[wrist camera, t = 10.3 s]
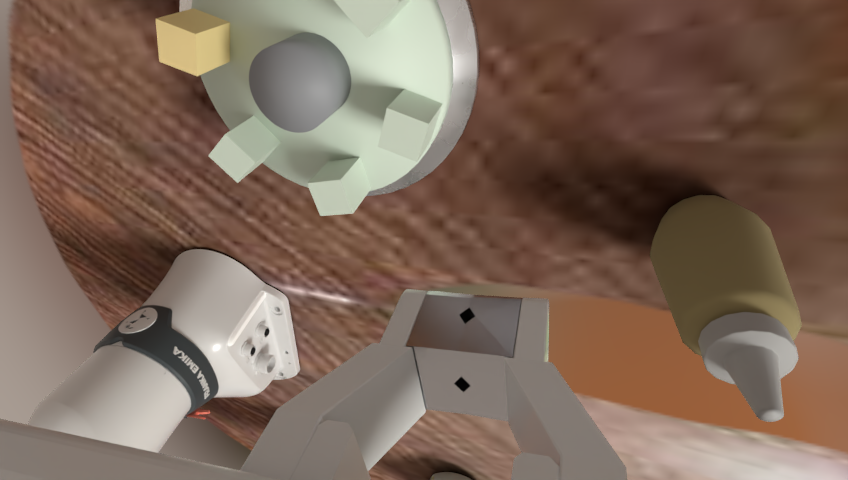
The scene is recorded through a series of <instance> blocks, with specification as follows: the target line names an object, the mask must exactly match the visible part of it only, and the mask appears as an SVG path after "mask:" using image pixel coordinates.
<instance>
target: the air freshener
mask: <svg viewBox="0 0 848 480" xmlns="http://www.w3.org/2000/svg"><path fill="white" fill-rule="evenodd" d="M430 480H471V479H470V478H468V477H466V476H464V475H461V474H458V473H453V472H440V473H436V474H433V475H432V477H431V479H430Z"/></svg>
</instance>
